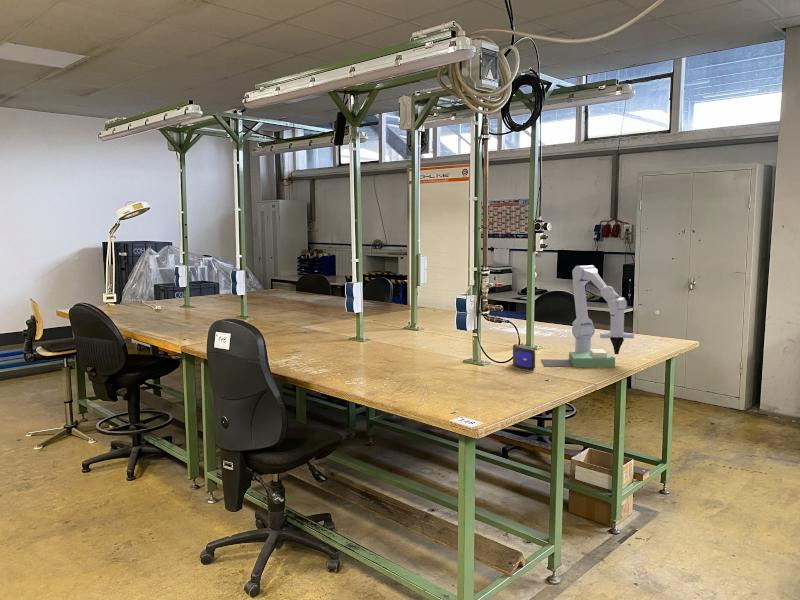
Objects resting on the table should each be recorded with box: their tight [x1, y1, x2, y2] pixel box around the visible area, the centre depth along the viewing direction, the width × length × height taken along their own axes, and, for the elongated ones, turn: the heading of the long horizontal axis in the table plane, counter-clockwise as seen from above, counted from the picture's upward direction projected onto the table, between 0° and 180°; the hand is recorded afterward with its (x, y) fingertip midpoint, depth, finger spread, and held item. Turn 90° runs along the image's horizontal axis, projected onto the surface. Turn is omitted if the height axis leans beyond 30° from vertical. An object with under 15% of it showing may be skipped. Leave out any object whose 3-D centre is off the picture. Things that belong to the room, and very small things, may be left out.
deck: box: [568, 351, 616, 368], centre depth 281 cm, size 14×18×4 cm
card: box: [590, 348, 608, 357], centre depth 280 cm, size 9×6×2 cm, turn 172°
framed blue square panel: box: [512, 343, 536, 371], centre depth 277 cm, size 16×5×9 cm, turn 21°
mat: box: [540, 358, 574, 368], centre depth 283 cm, size 14×13×1 cm
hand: (616, 353), depth 279 cm, fingers closed
